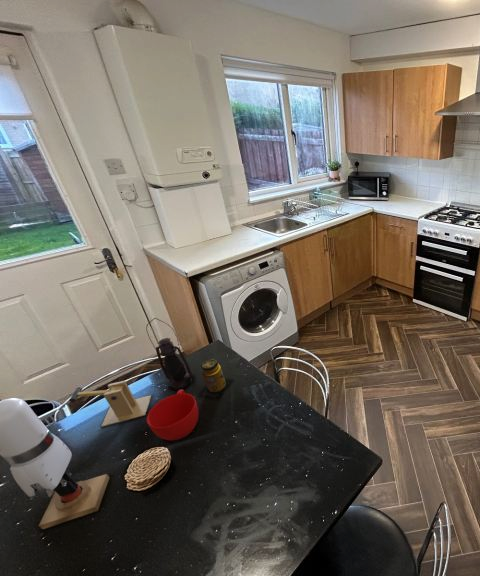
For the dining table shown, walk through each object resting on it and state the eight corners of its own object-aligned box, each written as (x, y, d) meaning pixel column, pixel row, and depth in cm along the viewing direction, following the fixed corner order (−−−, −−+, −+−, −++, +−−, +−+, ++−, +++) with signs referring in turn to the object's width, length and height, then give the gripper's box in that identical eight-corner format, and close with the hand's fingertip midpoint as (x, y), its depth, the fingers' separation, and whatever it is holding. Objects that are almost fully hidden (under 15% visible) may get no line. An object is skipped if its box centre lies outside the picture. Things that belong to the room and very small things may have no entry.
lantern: (172, 395, 113) (141, 328, 98) (167, 382, 118) (138, 317, 103) (196, 384, 117) (170, 319, 103) (191, 372, 123) (165, 309, 108)
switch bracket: (102, 428, 100) (85, 403, 95) (111, 407, 108) (96, 383, 102) (146, 416, 104) (132, 392, 99) (152, 397, 112) (139, 373, 106)
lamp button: (60, 505, 78) (56, 501, 77) (66, 490, 80) (63, 487, 80) (78, 499, 79) (74, 495, 78) (83, 485, 82) (80, 481, 81)
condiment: (231, 382, 118) (223, 358, 112) (217, 399, 111) (208, 375, 105) (214, 379, 119) (206, 355, 113) (199, 396, 112) (189, 372, 106)
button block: (43, 530, 76) (34, 522, 74) (60, 494, 83) (52, 485, 81) (98, 511, 80) (91, 503, 78) (110, 478, 87) (104, 469, 85)
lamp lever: (69, 403, 95) (68, 397, 94) (76, 392, 99) (75, 386, 98) (120, 399, 100) (119, 393, 99) (124, 388, 104) (124, 383, 103)
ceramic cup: (209, 401, 110) (201, 380, 106) (200, 442, 96) (191, 421, 92) (167, 410, 107) (157, 389, 102) (152, 454, 93) (140, 433, 88)
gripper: (26, 425, 75) (64, 469, 84) (-15, 484, 63) (35, 529, 71) (65, 414, 77) (98, 459, 86) (33, 470, 65) (75, 515, 74)
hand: (69, 490), depth 79 cm, fingers closed
